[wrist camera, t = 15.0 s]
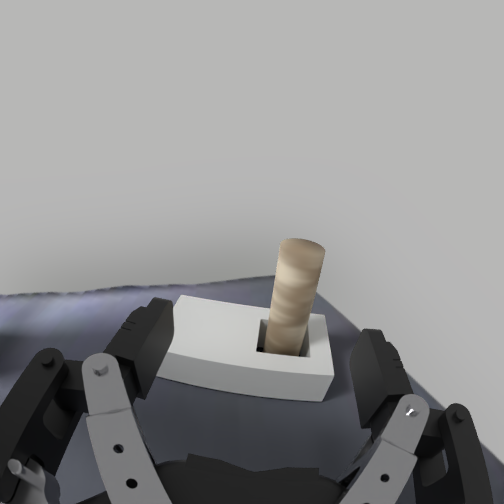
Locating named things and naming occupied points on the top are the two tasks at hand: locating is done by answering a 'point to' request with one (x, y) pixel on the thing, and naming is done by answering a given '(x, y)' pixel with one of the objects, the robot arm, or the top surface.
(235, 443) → the top surface
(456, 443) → the robot arm
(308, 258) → the birch peg
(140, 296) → the top surface
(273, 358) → the hole block
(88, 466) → the top surface
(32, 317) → the top surface
